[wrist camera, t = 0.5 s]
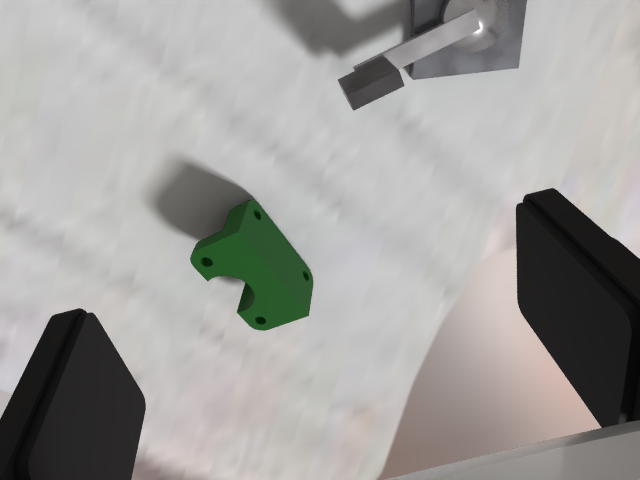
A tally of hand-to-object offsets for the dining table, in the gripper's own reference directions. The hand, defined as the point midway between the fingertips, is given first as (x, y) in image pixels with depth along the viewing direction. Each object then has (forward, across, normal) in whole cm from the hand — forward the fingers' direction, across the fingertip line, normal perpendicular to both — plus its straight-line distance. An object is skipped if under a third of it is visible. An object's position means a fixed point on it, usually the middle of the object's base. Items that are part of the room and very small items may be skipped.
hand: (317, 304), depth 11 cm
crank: (+33, -11, +4) cm, 35 cm away
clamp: (+35, +7, +20) cm, 40 cm away
